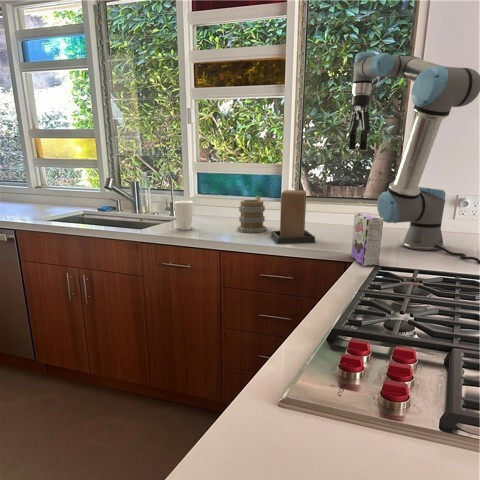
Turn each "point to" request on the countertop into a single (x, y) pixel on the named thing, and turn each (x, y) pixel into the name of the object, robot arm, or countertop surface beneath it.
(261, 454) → the countertop surface
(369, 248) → the candy box
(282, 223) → the block
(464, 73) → the robot arm
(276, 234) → the dark grey square tray
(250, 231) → the tankard
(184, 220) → the foam cup
